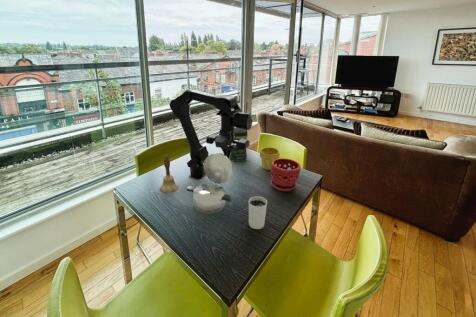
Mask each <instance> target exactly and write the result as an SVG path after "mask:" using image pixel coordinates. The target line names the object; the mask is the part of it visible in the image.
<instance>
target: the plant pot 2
mask: <svg viewBox="0 0 476 317" xmlns="http://www.w3.org/2000/svg"><path fill="white" fill-rule="evenodd" d="M275 164H276V165H275ZM284 165H285V166H284ZM289 168H290V169H289ZM301 169H302V165H301V164H300V163H299V162H298V161H297V160H293V159H291V158H281V157H279V159H275V160H273V161H272V165H271V170H270V176H271V180H270V184H271V186H272V188H273V189H275V190H277V191H280V192H290V191H293V190H294V189H295V188H296V187H297V181H298V180H299V177H300V174H301Z"/></svg>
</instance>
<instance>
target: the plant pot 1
mask: <svg viewBox="0 0 476 317" xmlns="http://www.w3.org/2000/svg"><path fill="white" fill-rule="evenodd" d="M280 154H281V151H280V150H279V149H278V148H276V147H270V146H267V147H263V148H260V150H259V157H260V159H261V166H262V169H264V170H266V171H271V165H272V161H273V160H275V159H280ZM275 166H277V164H275Z"/></svg>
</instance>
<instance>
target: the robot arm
mask: <svg viewBox="0 0 476 317" xmlns="http://www.w3.org/2000/svg"><path fill="white" fill-rule="evenodd" d="M193 101H195V102H199V103H203V104H206V105H209V106H213V107H215V109H217V110H219V111H217V112H216V116H220V129H219V132H218V134H215V133H211V134H209V135H208V136H207V137H206V139H205V143H206V144H209V145H213V144H215V147H216V148H220V149H221V151H222V154H223V155H225V156H227V157H228V158H229V159H230V156H231V154H232V151H233V149H234V148H235V147H237V148H238V149H242V150H245V149H246V150H247V149H248V148H249V147H250V140H249V139H248V138H247V139H240V140H239V141H237V140H234V139H235V136H234V130H235V128H240V129H246V130H247V131H250V130H251V128H252V126H253V118H252V116H251V112H242V109H241V107H240V106H239V104H238V102H237V99H236V97H235V96H233V95H232V94H231V95H230V94H229V95H228V94H221V95H219V94H218V95H217V94H212V93H208V92H205V91H201V90H197V89H194V88H189V89H186V90H185V91H184V92H183V93H182V94H180V95H179V96H177V97H176V98H174V99H171V100H170V102H169V107H170V110H171V112H172V114H173V115H174V116H176V118H178V120H179V123H180V125H181V127H182V129H183V132H184V135H185V137H186V139H187V142H188V145H189V147H190V151H189V156H190V159H189V160H188V161H187V162H186V165H187V168H189V171H190V174H189V175H188V178H191V179H196V180H201V179H202V178H203V177H204V176H206V174H205V172H204V162H205V159H206V158H207V157H208V156H209V155H210V152H209V151H208V149H207V146H206V145H204V146H203V144H201V143H200V140H199V137H198V135H197V132H196V129H195V127H194V124H193V122H192V118H191V117H190V110H191V108H190V103H191V102H192V103H193Z"/></svg>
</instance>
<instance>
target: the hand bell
mask: <svg viewBox="0 0 476 317" xmlns="http://www.w3.org/2000/svg"><path fill="white" fill-rule="evenodd" d="M163 166H164V168H165V175H164V176H163V178H162V179H163V181H162V184H161V185H160V187H159V190H160V191H161V192H164V193H172V192H175V191H177V190H178V189H179V184H178V183H176V181H175V179H174V176H173V175H171V172H170V166H171V160H170V158H169V156H168V155H165V156H164V159H163Z"/></svg>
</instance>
